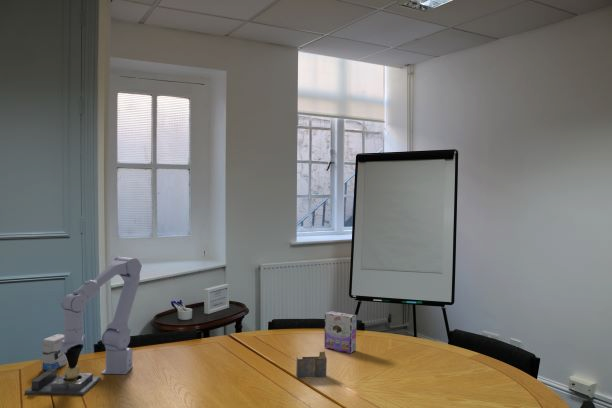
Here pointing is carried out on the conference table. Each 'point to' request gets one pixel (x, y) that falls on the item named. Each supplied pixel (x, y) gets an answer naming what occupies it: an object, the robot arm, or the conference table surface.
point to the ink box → (53, 353)
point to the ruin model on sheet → (312, 366)
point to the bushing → (71, 373)
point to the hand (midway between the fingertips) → (72, 366)
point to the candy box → (340, 331)
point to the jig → (61, 384)
